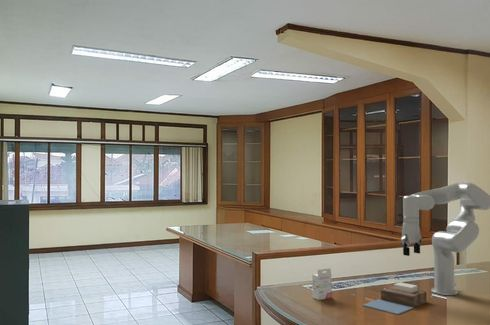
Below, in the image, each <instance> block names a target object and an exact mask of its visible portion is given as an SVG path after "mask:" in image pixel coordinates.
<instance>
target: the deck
mask: <svg viewBox="0 0 490 325" xmlns="http://www.w3.org/2000/svg"><path fill="white" fill-rule="evenodd" d="M380 300H384V301H389V302H393V303H397V304H401V305H406V306H410V307H415V308H416V307H418V306H420V305H422V304H425V303H427V291H426V290H421V289H417V291H416V292H413V293H409V292H404V291H399V290H395V289H394V285H392V286H390V287H387V288H386V287H385V288H383V289H381V290H380Z"/></svg>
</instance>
